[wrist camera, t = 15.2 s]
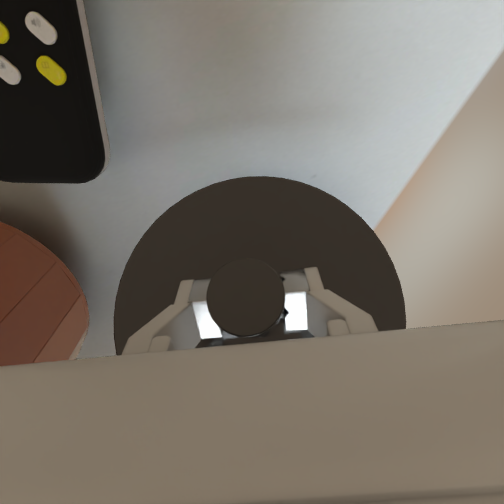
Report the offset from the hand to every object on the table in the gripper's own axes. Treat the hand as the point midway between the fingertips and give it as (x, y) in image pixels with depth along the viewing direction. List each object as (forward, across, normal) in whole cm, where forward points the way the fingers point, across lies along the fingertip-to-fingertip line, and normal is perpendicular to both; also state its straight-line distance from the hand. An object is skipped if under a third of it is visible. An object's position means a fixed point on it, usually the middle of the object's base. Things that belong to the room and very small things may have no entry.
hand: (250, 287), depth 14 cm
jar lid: (+2, 0, +2) cm, 3 cm away
